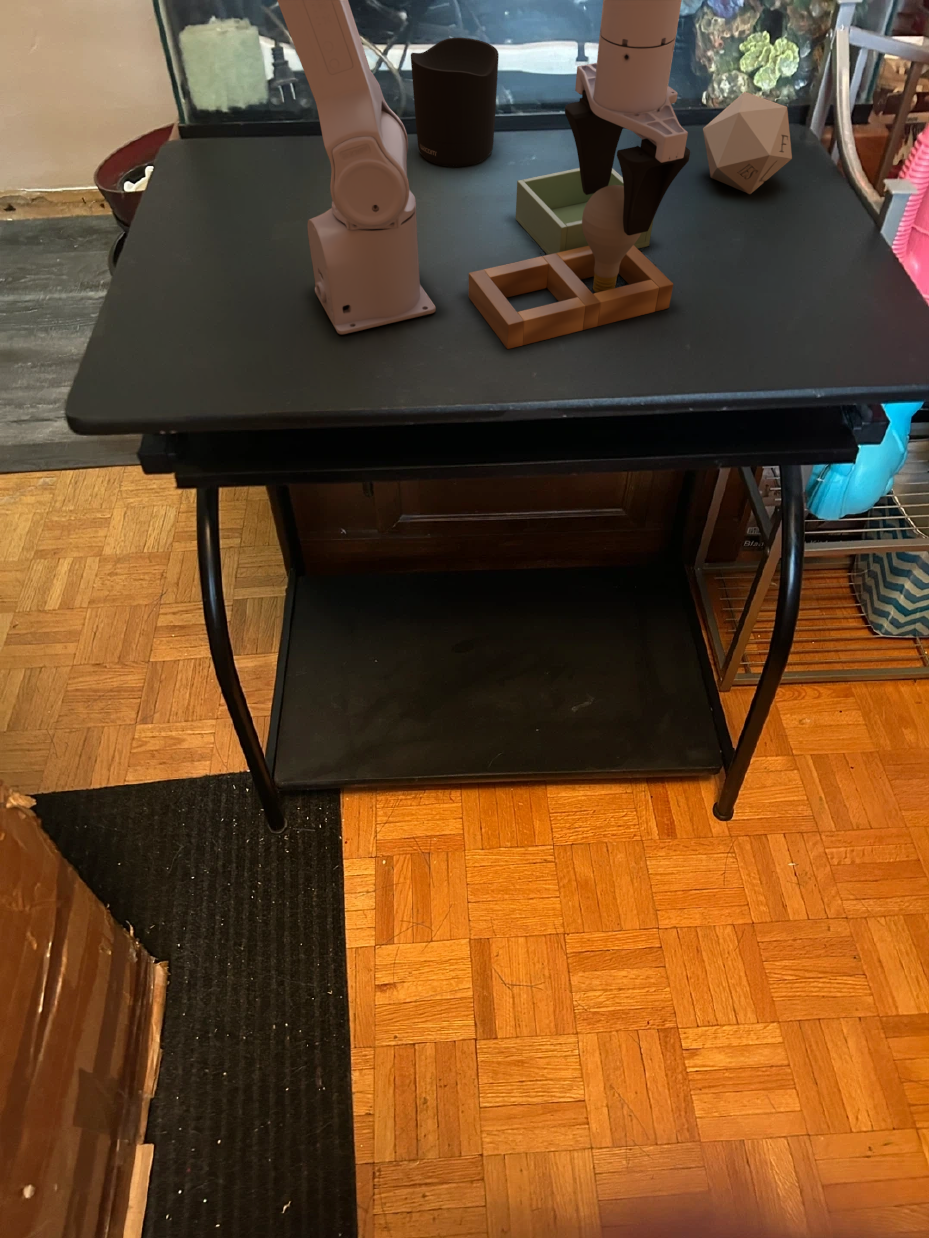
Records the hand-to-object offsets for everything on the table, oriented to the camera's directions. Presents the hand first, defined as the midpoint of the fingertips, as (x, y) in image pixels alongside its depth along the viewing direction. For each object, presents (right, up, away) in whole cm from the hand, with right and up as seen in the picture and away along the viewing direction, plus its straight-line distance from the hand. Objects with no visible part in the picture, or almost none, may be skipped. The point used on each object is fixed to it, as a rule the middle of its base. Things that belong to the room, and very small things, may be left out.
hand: (614, 211), depth 77 cm
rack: (-4, -6, +5) cm, 9 cm away
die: (+17, +12, +20) cm, 29 cm away
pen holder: (-14, +18, +25) cm, 34 cm away
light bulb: (0, -5, +6) cm, 8 cm away
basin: (-1, +4, +13) cm, 14 cm away
